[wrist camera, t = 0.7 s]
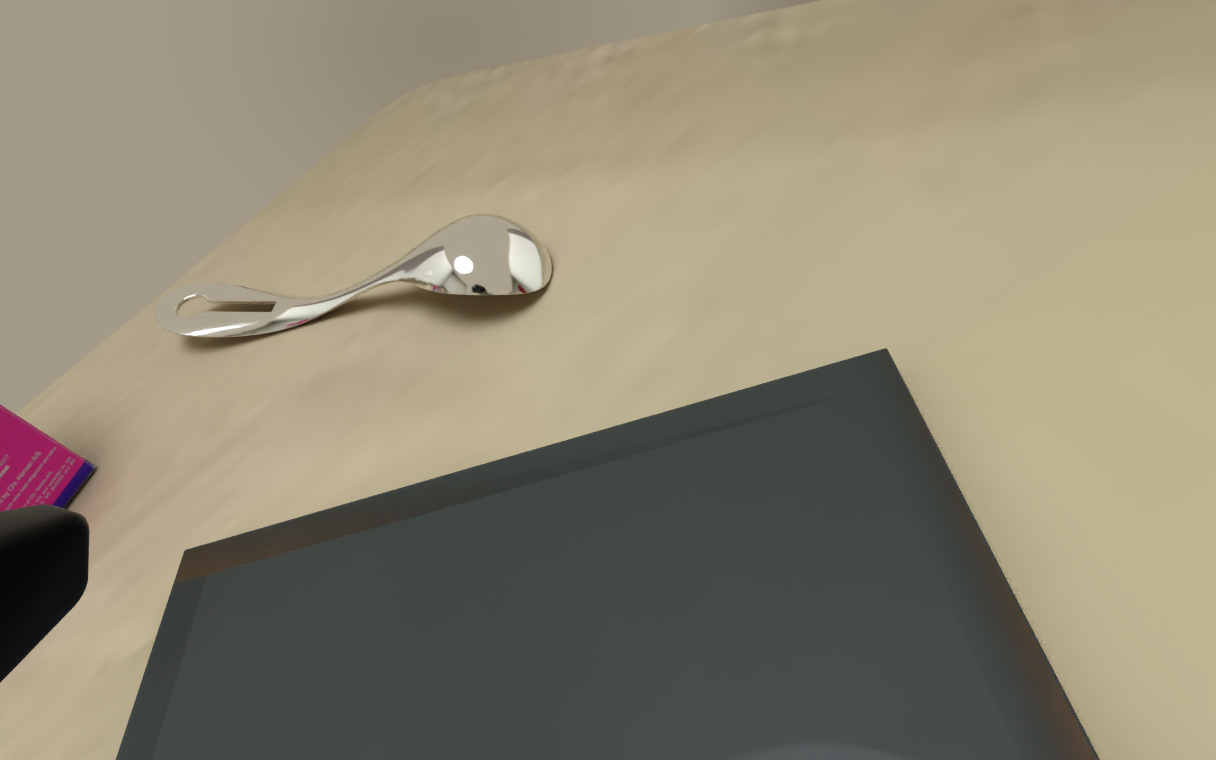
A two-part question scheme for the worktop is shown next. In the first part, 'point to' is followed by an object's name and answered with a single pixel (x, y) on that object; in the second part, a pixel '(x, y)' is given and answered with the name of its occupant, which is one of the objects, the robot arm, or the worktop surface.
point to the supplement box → (36, 466)
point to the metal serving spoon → (382, 280)
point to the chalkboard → (625, 605)
